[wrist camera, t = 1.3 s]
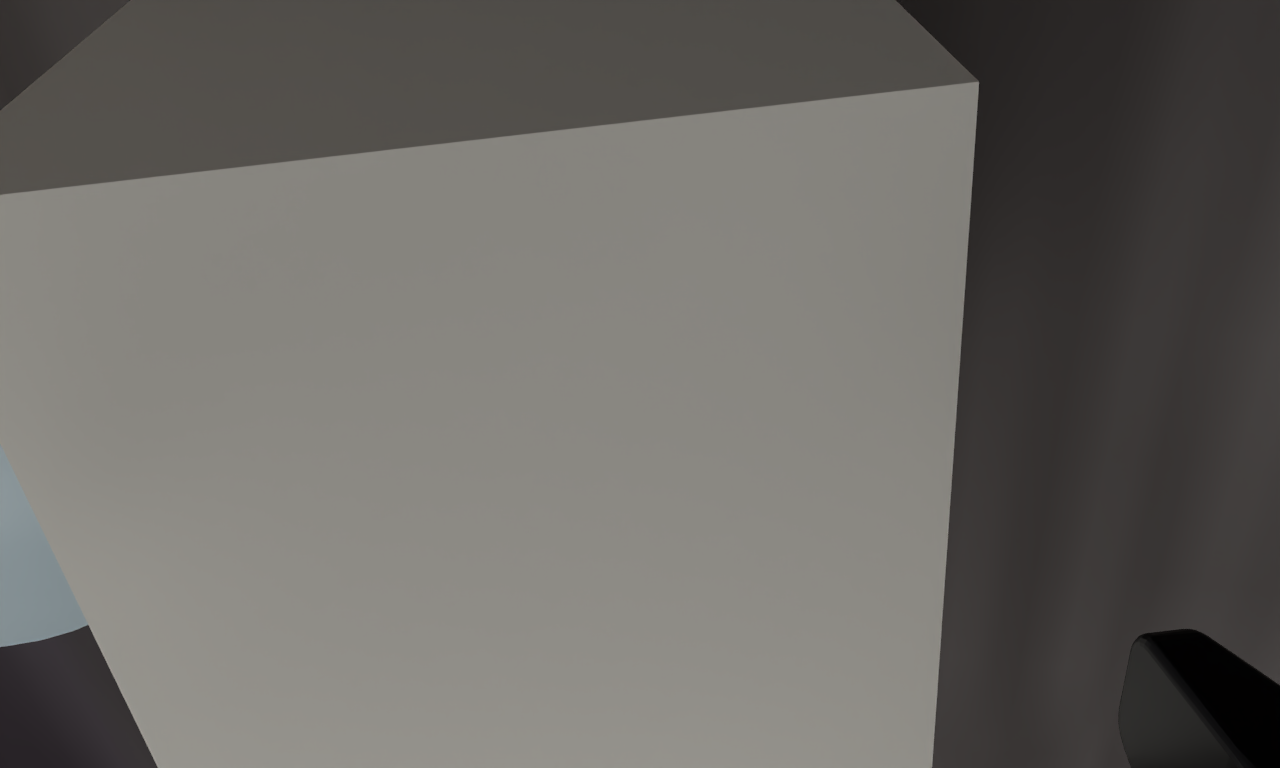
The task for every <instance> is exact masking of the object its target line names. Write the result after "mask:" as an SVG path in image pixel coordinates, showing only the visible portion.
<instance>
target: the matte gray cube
mask: <svg viewBox="0 0 1280 768" xmlns="http://www.w3.org/2000/svg"><path fill="white" fill-rule="evenodd" d="M978 91H979V81H978V80H977V79H976V78H975V77H974V76H973V75H972V74H971V73H970V72H969V71H968V70H967V69H966V68H965V67H964V66H962V65H961V64H960V63H959V62H958V61H957V60H956V59H955V58H954V57H953V56H952V55H951V54H950V53H949V52H948V51H947V50H946V49H945V48H944V47H943V46H942V45H941V44H940V43H939V42H938V41H937V40H936V39H935V38H934V37H933V36H932V35H931V34H930V33H929V32H928V31H927V30H925V29H924V28H923V27H922V26H921V25H920V24H919V23H918V22H917V21H916V20H915V19H914V18H913V17H912V16H911V15H910V14H909V13H908V12H907V11H906V10H905V9H904V8H903V7H902V6H901V5H900V4H899V3H898V2H897V1H896V0H131V1H129V2H128V3H127V4H126V5H125V6H123V7H122V8H121V9H120V10H119V11H118V12H116V13H115V14H114V15H113V16H112V17H110V18H109V19H108V20H107V21H106V22H105V23H103V24H102V25H101V26H100V27H99V28H97V29H96V30H95V31H94V32H93V33H92V34H90V35H89V36H88V37H87V38H86V39H84V40H83V41H82V42H81V43H80V44H79V45H77V46H76V47H75V48H74V49H73V50H71V51H70V52H69V53H68V54H67V55H66V56H64V57H63V58H62V59H61V60H60V61H59V62H57V63H56V64H55V65H54V66H53V67H51V68H50V69H49V70H48V71H47V72H46V73H44V74H43V75H42V76H41V77H40V78H38V79H37V80H36V81H35V82H34V83H33V84H31V85H30V86H29V87H28V88H27V89H25V90H24V91H23V92H22V93H21V94H20V95H18V96H17V97H16V98H15V99H14V100H12V101H11V102H10V103H9V104H8V105H7V106H5V107H4V108H3V109H2V110H1V111H0V444H1V446H2V448H3V450H4V453H5V455H6V457H7V459H8V461H9V463H10V465H11V467H12V469H13V471H14V473H15V475H16V477H17V479H18V481H19V483H20V485H21V487H22V489H23V492H24V494H25V496H26V498H27V500H28V502H29V504H30V506H31V508H32V510H33V512H34V514H35V516H36V518H37V520H38V522H39V524H40V526H41V528H42V531H43V533H44V535H45V537H46V539H47V541H48V543H49V545H50V547H51V549H52V551H53V553H54V555H55V557H56V559H57V561H58V563H59V565H60V567H61V570H62V572H63V574H64V576H65V578H66V580H67V582H68V584H69V586H70V588H71V590H72V592H73V594H74V596H75V598H76V600H77V602H78V604H79V606H80V609H81V611H82V613H83V615H84V617H85V619H86V621H87V623H88V625H89V627H90V629H91V631H92V633H93V635H94V637H95V639H96V641H97V643H98V645H99V648H100V650H101V652H102V654H103V656H104V658H105V660H106V662H107V664H108V666H109V668H110V670H111V672H112V674H113V676H114V678H115V680H116V682H117V684H118V687H119V689H120V691H121V693H122V695H123V697H124V699H125V701H126V703H127V705H128V707H129V709H130V711H131V713H132V715H133V717H134V719H135V721H136V723H137V726H138V728H139V730H140V732H141V734H142V736H143V738H144V740H145V742H146V744H147V746H148V748H149V750H150V752H151V754H152V756H153V758H154V760H155V762H156V765H157V767H158V768H932V760H933V745H934V731H935V716H936V702H937V687H938V673H939V658H940V644H941V629H942V615H943V600H944V585H945V571H946V556H947V542H948V527H949V513H950V498H951V484H952V469H953V455H954V440H955V426H956V411H957V396H958V382H959V367H960V353H961V338H962V324H963V309H964V295H965V280H966V266H967V251H968V236H969V222H970V207H971V193H972V178H973V164H974V149H975V135H976V120H977V106H978Z"/></svg>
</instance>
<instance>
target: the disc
mask: <svg viewBox="0 0 1280 768" xmlns="http://www.w3.org/2000/svg"><path fill="white" fill-rule="evenodd" d="M86 625H88V623H87V621H86V619H85V617H84V615H83V613H82V611H81V609H80V606H79V604H78V602H77V600H76V598H75V596H74V594H73V592H72V590H71V588H70V586H69V584H68V582H67V580H66V578H65V576H64V574H63V572H62V570H61V567H60V565H59V563H58V561H57V559H56V557H55V555H54V553H53V551H52V549H51V547H50V545H49V543H48V541H47V539H46V537H45V535H44V533H43V531H42V528H41V526H40V524H39V522H38V520H37V518H36V516H35V514H34V512H33V510H32V508H31V506H30V504H29V502H28V500H27V498H26V496H25V494H24V492H23V489H22V487H21V485H20V483H19V481H18V479H17V477H16V475H15V473H14V471H13V469H12V467H11V465H10V463H9V461H8V459H7V457H6V455H5V453H4V450H3V448H2V446H1V444H0V647H1V646H10V645H16V644H22V643H28V642H34V641H39V640H43V639H47V638H50V637H54V636H57V635H61V634H64V633H68V632H72V631H74V630H77V629H79V628H81V627H84V626H86Z"/></svg>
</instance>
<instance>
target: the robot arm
mask: <svg viewBox="0 0 1280 768" xmlns="http://www.w3.org/2000/svg"><path fill="white" fill-rule="evenodd" d="M1119 729H1120V735H1121V739H1122V743H1123V746H1124V749H1125V752H1126V754H1127V757H1128V760H1129V763H1130V766H1131V768H1280V685H1279V684H1277V683H1276V682H1274V681H1273V680H1271V679H1270V678H1268V677H1267V676H1266V675H1264V674H1263V673H1261V672H1260V671H1258V670H1257V669H1255V668H1254V667H1252V666H1251V665H1249V664H1248V663H1247V662H1245V661H1244V660H1242V659H1241V658H1239V657H1238V656H1236V655H1235V654H1233V653H1232V652H1230V651H1229V650H1228V649H1226V648H1225V647H1223V646H1222V645H1220V644H1219V643H1217V642H1216V641H1214V640H1213V639H1211V638H1210V637H1209V636H1207V635H1205V634H1203V633H1201V632H1199V631H1196V630H1192V629H1179V630H1171V631H1162V632H1154V633H1145V634H1143V635H1140V636H1139V637H1138V638H1137V639H1136V640H1135V641H1134V643H1133V645H1132V648H1131V651H1130V656H1129V661H1128V666H1127V671H1126V676H1125V681H1124V686H1123V691H1122V696H1121V701H1120V706H1119Z"/></svg>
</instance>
